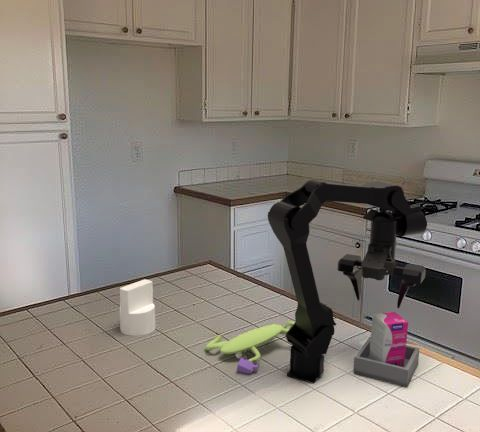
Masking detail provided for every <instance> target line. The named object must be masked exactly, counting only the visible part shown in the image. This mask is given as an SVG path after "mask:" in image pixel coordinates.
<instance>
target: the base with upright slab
mask: <svg viewBox="0 0 480 432" xmlns="http://www.w3.org/2000/svg"><path fill="white" fill-rule="evenodd" d="M153 288H154V287H153V281H152V280H149V279H145V278H144V279H141V280H139V281H135V282H134V283H130V284H128V285H125V286H121V287H120V288H119V301H120V303H119V305H120V306H119V323H120V324H119V325H120V328H119V329H120V332H121V334H123V335H126V336H130V337H138V336H140V337H141V336H145V335H148V334H150V333H152V332H154V331H155V329H156V305H155V304H154V291H153Z"/></svg>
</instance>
